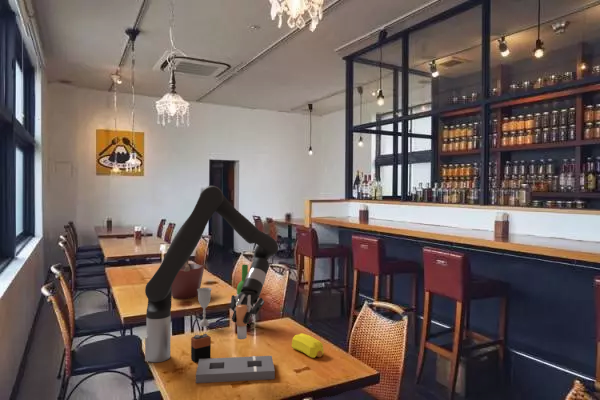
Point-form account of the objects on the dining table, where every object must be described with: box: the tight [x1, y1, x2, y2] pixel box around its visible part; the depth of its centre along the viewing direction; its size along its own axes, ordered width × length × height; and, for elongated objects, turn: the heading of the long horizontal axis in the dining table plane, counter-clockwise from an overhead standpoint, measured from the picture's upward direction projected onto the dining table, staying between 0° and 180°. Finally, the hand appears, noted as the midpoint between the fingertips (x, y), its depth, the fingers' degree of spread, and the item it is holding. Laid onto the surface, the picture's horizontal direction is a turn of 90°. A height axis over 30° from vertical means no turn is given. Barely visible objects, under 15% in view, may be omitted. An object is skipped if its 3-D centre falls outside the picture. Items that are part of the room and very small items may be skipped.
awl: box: [235, 304, 248, 340], centre depth 159 cm, size 4×4×12 cm
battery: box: [190, 333, 212, 363], centre depth 171 cm, size 4×7×10 cm, turn 126°
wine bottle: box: [236, 264, 249, 296], centre depth 216 cm, size 8×8×30 cm
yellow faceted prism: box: [291, 332, 324, 359], centre depth 180 cm, size 18×7×8 cm
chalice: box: [197, 287, 213, 328], centre depth 213 cm, size 7×7×18 cm
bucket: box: [172, 259, 205, 300], centre depth 269 cm, size 24×22×25 cm
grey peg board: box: [195, 355, 276, 384], centre depth 159 cm, size 28×14×3 cm, turn 98°
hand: (239, 322), depth 157 cm, fingers closed on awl, 4 cm apart
